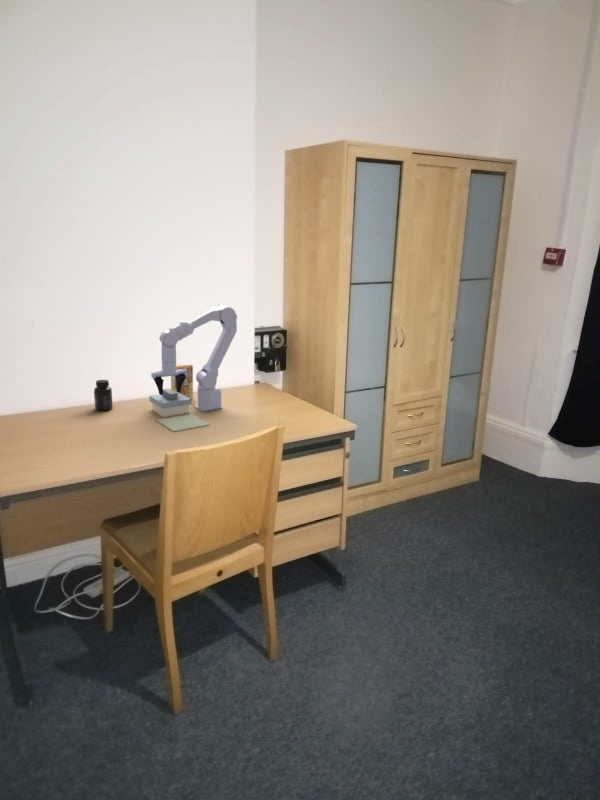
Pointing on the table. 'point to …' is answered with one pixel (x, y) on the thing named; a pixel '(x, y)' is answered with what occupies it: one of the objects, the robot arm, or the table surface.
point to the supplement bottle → (103, 396)
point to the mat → (182, 422)
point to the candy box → (188, 382)
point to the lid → (170, 399)
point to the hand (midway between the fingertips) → (169, 393)
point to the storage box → (170, 410)
